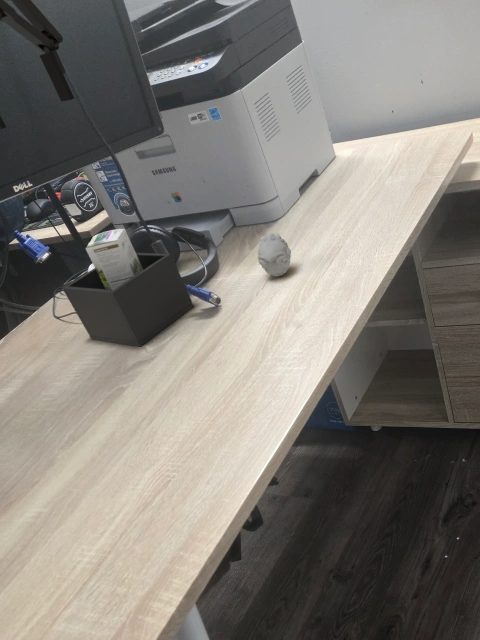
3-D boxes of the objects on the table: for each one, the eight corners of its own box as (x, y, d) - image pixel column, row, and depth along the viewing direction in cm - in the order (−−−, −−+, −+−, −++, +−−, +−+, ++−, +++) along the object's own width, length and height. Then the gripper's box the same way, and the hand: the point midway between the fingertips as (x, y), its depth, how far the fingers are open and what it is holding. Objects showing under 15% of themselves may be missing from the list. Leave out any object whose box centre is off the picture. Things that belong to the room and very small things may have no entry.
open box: (91, 339, 116) (61, 288, 110) (144, 301, 124) (120, 251, 117) (140, 346, 109) (112, 292, 103) (194, 306, 117) (171, 253, 110)
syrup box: (130, 313, 119) (90, 235, 109) (161, 305, 119) (123, 226, 109) (125, 328, 115) (82, 247, 105) (156, 319, 114) (117, 238, 105)
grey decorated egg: (299, 263, 121) (288, 225, 116) (292, 280, 116) (279, 241, 111) (269, 268, 122) (256, 231, 118) (260, 285, 117) (247, 247, 113)
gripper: (-125, -46, 81) (-19, 140, 95) (35, -80, 94) (107, 86, 108) (-151, -34, 84) (-45, 143, 98) (7, -69, 98) (80, 91, 112)
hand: (35, 114), depth 103 cm, fingers open, 13 cm apart
